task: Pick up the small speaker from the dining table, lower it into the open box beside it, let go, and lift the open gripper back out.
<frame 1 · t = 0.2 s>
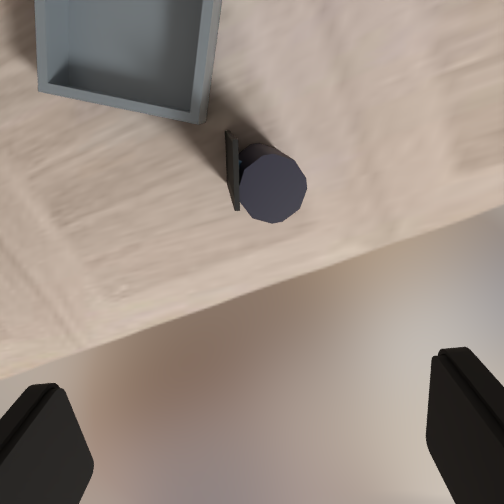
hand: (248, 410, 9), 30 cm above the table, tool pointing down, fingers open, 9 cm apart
speaker: (260, 164, 36), on the table
open box: (141, 27, 31), on the table
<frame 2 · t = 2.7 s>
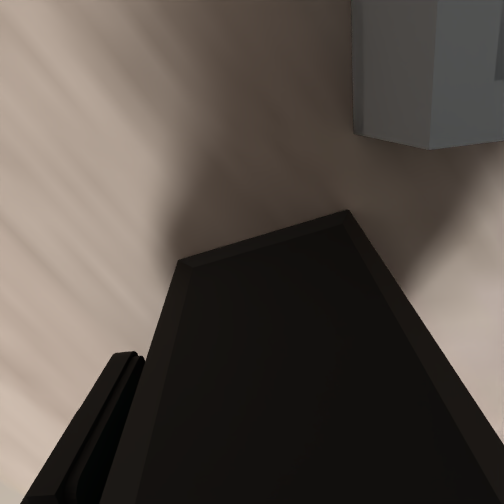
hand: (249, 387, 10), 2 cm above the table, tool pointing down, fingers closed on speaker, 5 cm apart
speaker: (272, 332, 12), on the table, touching gripper
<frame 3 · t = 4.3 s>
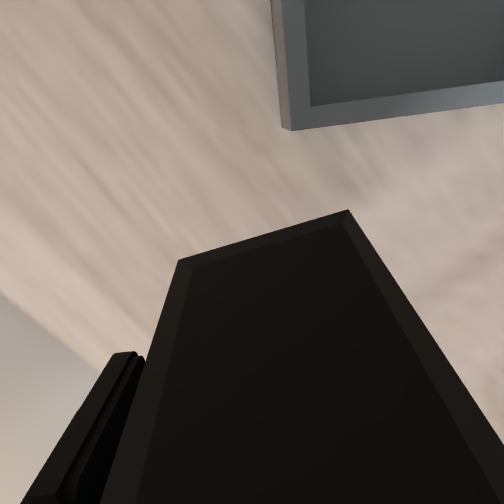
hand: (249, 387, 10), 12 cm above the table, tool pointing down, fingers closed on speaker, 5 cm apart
speaker: (272, 331, 12), point 9 cm above the table, touching gripper
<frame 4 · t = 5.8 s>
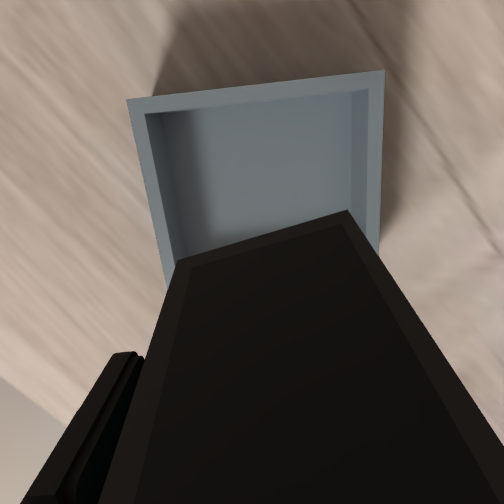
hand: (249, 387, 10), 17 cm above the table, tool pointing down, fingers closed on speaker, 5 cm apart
speaker: (271, 331, 12), point 15 cm above the table, touching gripper
open box: (263, 194, 25), on the table
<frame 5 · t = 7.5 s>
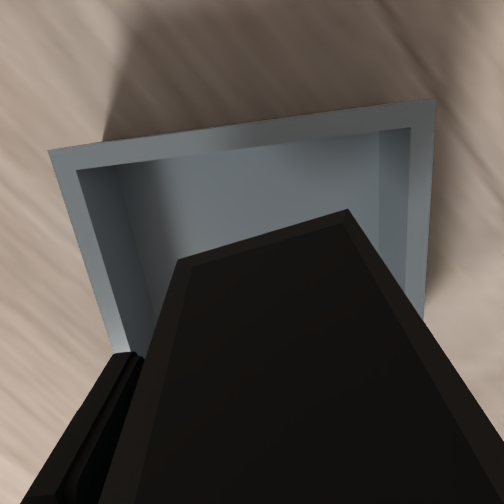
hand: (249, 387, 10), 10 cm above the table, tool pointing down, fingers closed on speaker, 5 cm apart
speaker: (271, 331, 12), point 7 cm above the table, touching gripper
open box: (258, 257, 19), on the table
when the fingers open (4 cm above the table, at t = 8.9 s): speaker drops 1 cm, resting on open box.
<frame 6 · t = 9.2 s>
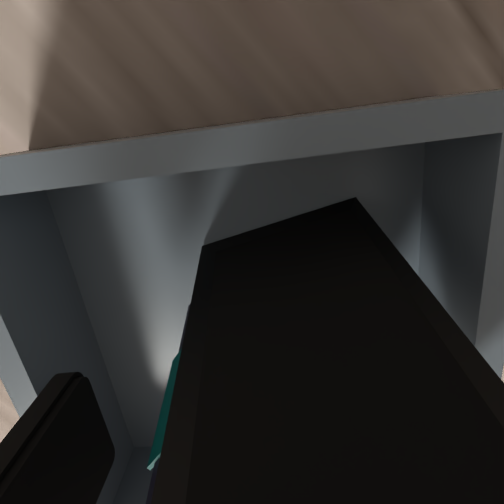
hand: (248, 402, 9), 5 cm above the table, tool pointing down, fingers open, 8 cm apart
speaker: (286, 311, 13), point 1 cm above the table, touching open box
open box: (251, 305, 14), on the table
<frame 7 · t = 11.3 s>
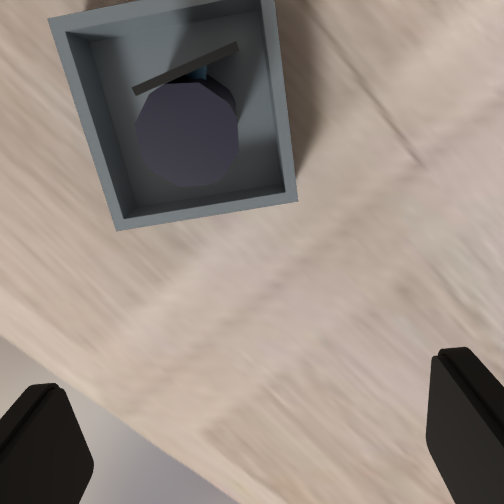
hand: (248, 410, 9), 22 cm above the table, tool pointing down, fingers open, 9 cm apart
speaker: (209, 114, 26), point 1 cm above the table, touching open box
open box: (194, 117, 27), on the table
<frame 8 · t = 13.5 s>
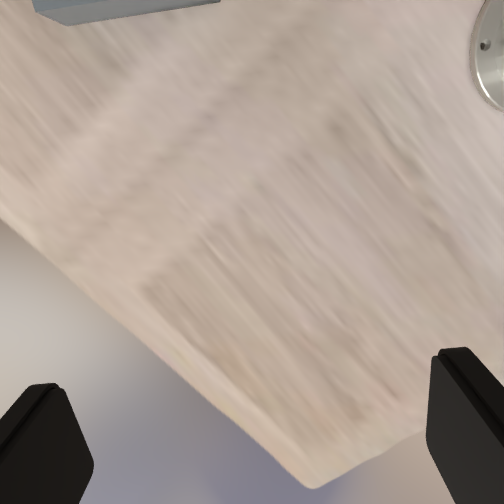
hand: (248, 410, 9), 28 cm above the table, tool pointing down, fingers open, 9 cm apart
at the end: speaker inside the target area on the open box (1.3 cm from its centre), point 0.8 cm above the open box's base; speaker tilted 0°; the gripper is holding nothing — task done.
